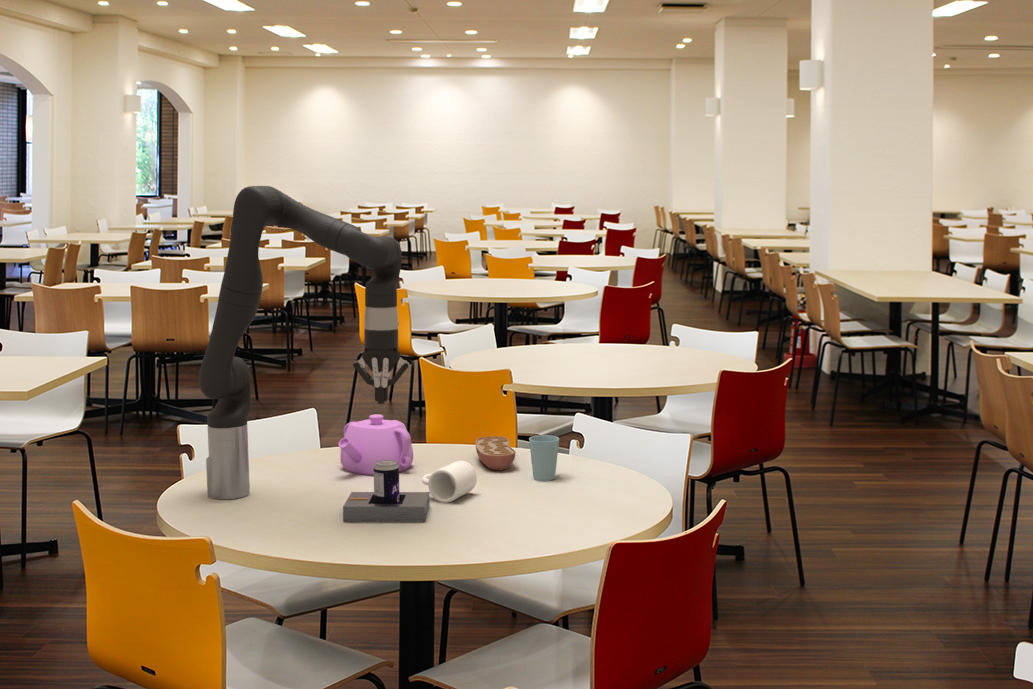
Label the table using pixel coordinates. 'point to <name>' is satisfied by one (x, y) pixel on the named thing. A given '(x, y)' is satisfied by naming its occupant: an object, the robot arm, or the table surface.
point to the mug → (451, 481)
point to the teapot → (375, 444)
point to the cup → (544, 456)
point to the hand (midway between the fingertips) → (381, 403)
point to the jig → (386, 508)
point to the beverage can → (386, 482)
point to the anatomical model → (495, 452)
